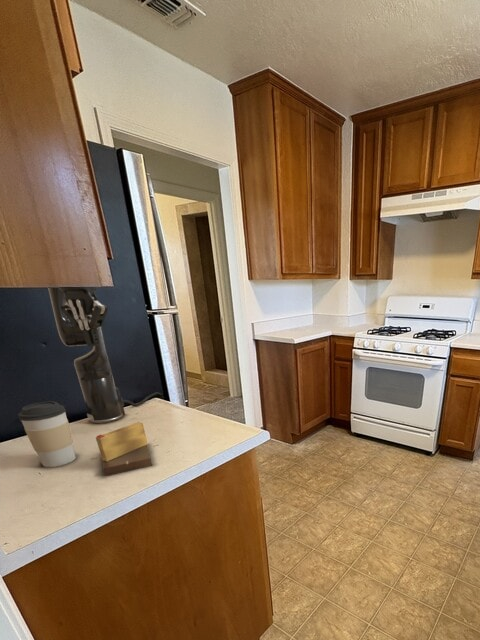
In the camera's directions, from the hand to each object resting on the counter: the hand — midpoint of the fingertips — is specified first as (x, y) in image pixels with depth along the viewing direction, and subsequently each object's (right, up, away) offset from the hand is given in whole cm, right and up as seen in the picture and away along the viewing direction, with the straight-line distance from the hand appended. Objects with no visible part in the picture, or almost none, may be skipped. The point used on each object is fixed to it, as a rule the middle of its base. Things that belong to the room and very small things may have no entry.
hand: (93, 345), depth 86 cm
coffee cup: (-10, -29, +2) cm, 31 cm away
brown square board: (+7, -28, +3) cm, 29 cm away
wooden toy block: (+7, -26, +2) cm, 27 cm away
